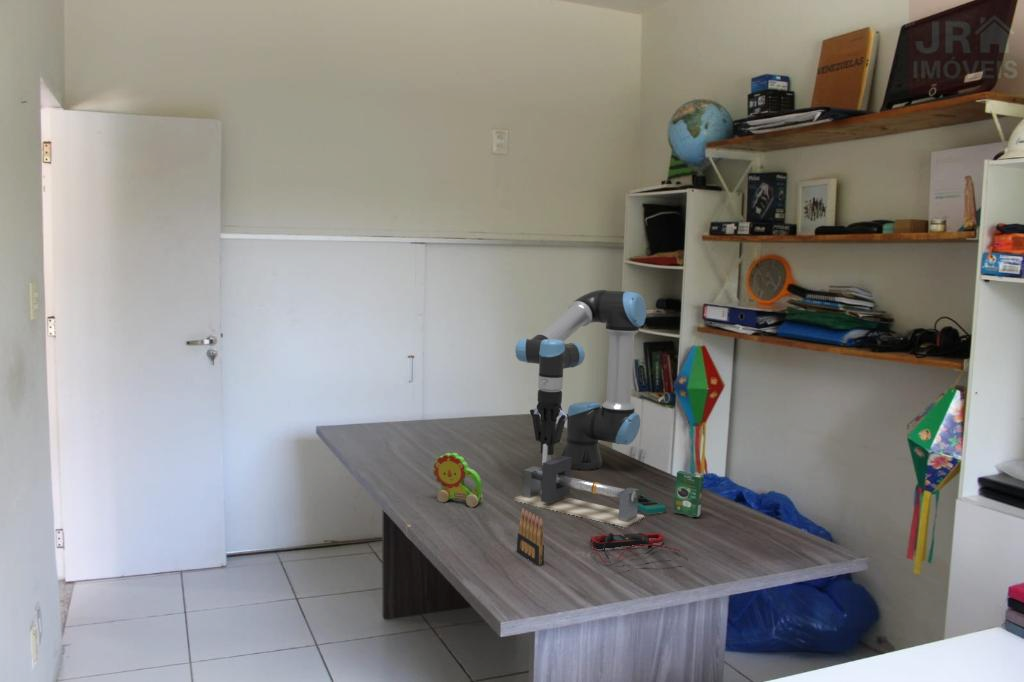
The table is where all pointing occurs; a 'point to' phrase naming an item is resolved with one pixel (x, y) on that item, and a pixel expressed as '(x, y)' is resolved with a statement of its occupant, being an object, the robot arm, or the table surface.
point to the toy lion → (456, 479)
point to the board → (579, 509)
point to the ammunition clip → (531, 538)
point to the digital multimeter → (649, 505)
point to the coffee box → (688, 493)
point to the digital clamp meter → (625, 541)
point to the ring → (549, 477)
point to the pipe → (626, 496)
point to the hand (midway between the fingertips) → (546, 464)
